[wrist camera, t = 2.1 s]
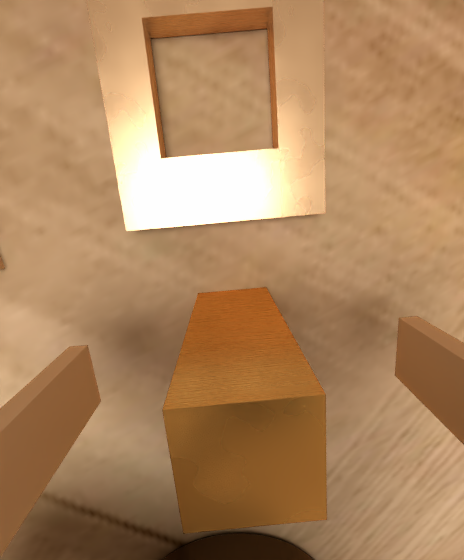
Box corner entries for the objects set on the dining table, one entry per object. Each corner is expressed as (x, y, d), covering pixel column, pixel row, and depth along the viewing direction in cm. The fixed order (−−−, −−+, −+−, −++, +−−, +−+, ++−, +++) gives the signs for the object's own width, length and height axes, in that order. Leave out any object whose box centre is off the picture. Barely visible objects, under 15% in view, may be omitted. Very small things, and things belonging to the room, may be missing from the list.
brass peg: (269, 349, 18) (326, 519, 8) (205, 354, 18) (183, 534, 8) (265, 287, 17) (326, 394, 7) (198, 293, 17) (162, 410, 7)
